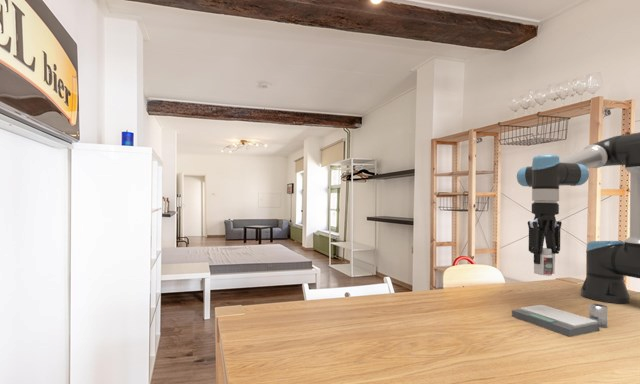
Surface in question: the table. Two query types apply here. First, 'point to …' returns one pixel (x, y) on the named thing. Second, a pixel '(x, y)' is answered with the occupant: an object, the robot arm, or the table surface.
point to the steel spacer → (598, 314)
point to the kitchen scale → (556, 320)
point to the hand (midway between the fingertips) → (544, 273)
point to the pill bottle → (547, 261)
